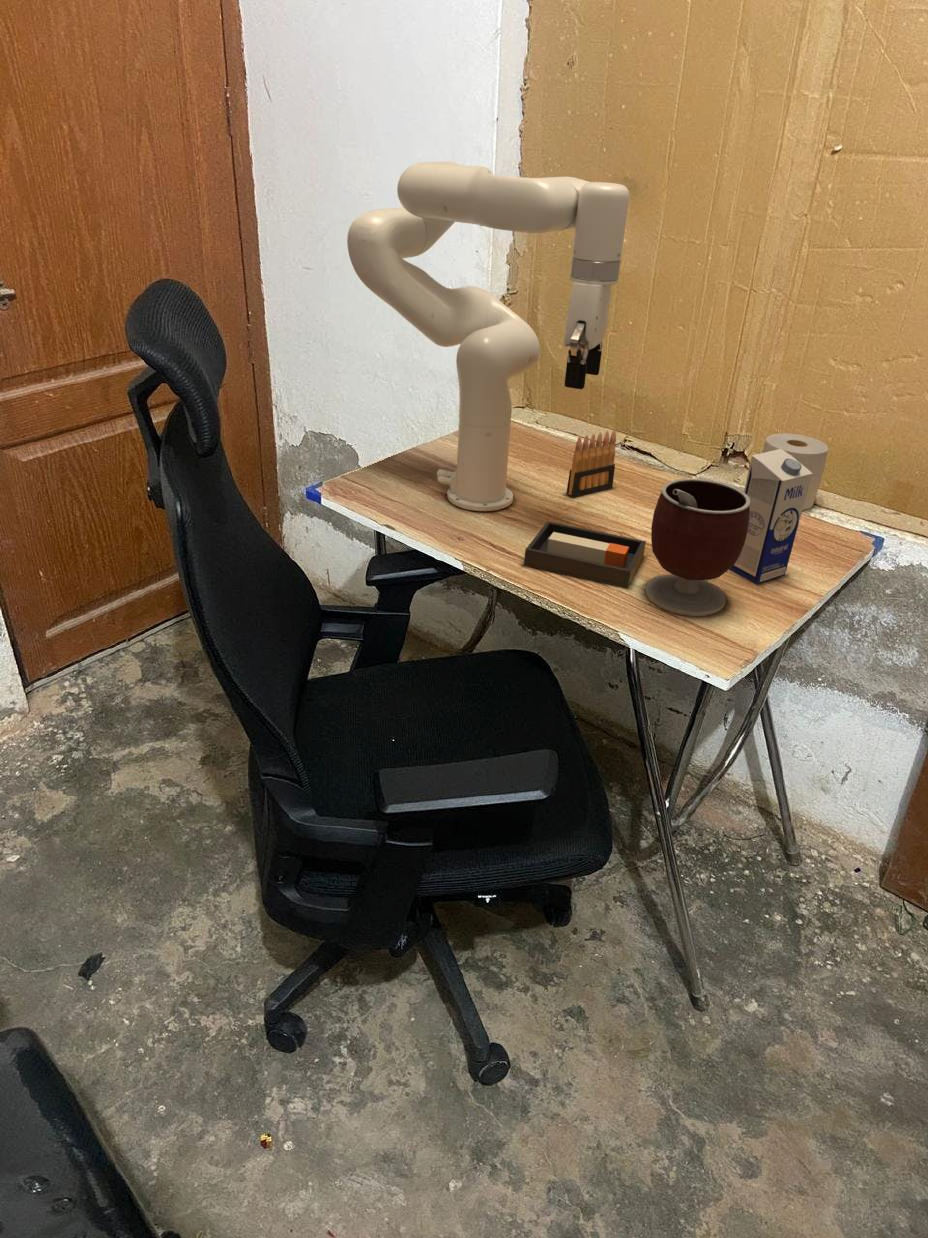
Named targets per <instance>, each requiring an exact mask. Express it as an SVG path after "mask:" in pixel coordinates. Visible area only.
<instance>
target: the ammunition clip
mask: <svg viewBox="0 0 928 1238" xmlns="http://www.w3.org/2000/svg"><path fill="white" fill-rule="evenodd" d="M616 442H617V432H616V429H613V430H612V431H611V434H610V433H609V431H608V430H607V431H606V432H605V434H604V436H603V434H602V432H601V431H600V432H599V433H598V435H597V438H596V435H595V433H592V435H591V436H590V440H589V436H588V434H586V435H585V436H584V438H583V440H582V437H581V435H580V436H578V438H577V440H576V444H575V447H574V454H573V457H572V461H571V462H572V463H571V469H570V470H569V473H568V480H567V487H566V496H568V497H570V498H572V499H574V498H579V497H582V496H586V495H590V494H594V493H599V492H603V491H607V490H611V489H613V487H614V478H615V477H614V476H615V468H616V464H614V463H615V458H616V457H615V456H616Z"/></svg>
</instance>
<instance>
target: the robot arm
mask: <svg viewBox="0 0 928 1238" xmlns="http://www.w3.org/2000/svg"><path fill="white" fill-rule="evenodd" d="M396 189H397V198H398V200H399V202H400V204H401V207H391V208H390V207H389V208H379V209H374V210H373V209H372V210H369V211H367V212H364V213H362V214H360V215H359V216H358V217H357V218H355V219H354V220H353V222H352V223H350V226H349V229H348V232H347V239H346V243H347V244H346V245H347V252H348V256H349V260H350V263H351V265H352V267H353V270H354V272H355V274H356V275H357V277H358V279H359V280H360V281H361V283H363V285H364V286H365V287H366V288H367V289H368V290H369V291H371V293H373V294H374V295H376V296H377V297H378V298H379V299H381V300H382V301H384V302H385V303H386V304H387V305H388V306H390V307H391V308H392V309H393V310H395V311H396V312H397V313H398V314H399V315H400V316H402V318H404V319H405V320H406V321H407V322H408V323H409V324H410V325H412V326H413V327H414V328H415V329H417V330H418V331H419V332H420V333H421V334H423V336H425V337H426V338H427V339H428V340H430V341H431V342H432V343H433V344H435V345H436V346H438V347H443V348H450V347H454V346H458V345H459V346H458V349H457V353H456V360H455V361H456V372H457V380H458V391H459V402H458V403H459V405H458V407H459V408H458V433H457V454H456V470H453V471H450V470H446V469H441V468H439V469H438V470H437V472H436V479H437V483H438V484H441V485H448V486H449V488H448V489H447V493H446V497H447V498H446V499H447V500H448V501H449V502H450V503H451V504H452V505H453V506H456V507H458V508H461V509H464V510H468V511H475V512H495V511H499V510H504V509H506V508H507V507H509V506H511V504H512V503H513V502H514V494H513V492H512V490H510V488H508V487H507V476H508V465H509V452H510V441H511V440H510V438H511V425H512V398H511V393H510V389H509V385H508V384H509V380H511V379H512V378H516V377H518V376H521V375H523V374H526V373H527V372H529V371H531V369H532V368H533V367H534V366H535V365H536V364H537V363H538V360H539V358H540V354H541V353H540V352H541V346H540V341H539V338H538V336H537V334H536V332H535V331H534V329H533V328H532V326H530V325H529V324H528V323H527V322H526V321H525V320H524V319H523V318H522V317H520V316H519V315H517V313H515V312H514V311H513V310H512V309H510V308H509V307H508V306H507V305H506V304H504V303H503V302H502V301H500V300H499V299H498V298H497V297H496V296H494V295H493V294H492V293H490V292H489V291H487V290H486V289H483V288H482V287H481V288H480V287H479V286H478V287H477V286H471V285H468V286H467V285H466V286H460V287H455V288H449V287H446V286H444V285H443V284H441V283H440V282H438V281H437V280H436V279H434V278H433V277H432V276H431V275H430V274H429V273H427V271H425V270H423V269H422V268H420V267H419V266H417V265H415V264H413V263H411V262H409V261H408V260H405V259H408V258H414V257H418V256H420V255H423V254H424V253H426V252H427V251H429V250H430V249H431V248H432V247H433V246H434V245H435V244H436V243H437V242H438V240H440V239H441V237H443V236H444V234H446V232H447V231H448V230H449V229H450V228H451V227H452V226H453V225H454V224H455V223H463V224H470V225H478V226H479V227H485V228H489V229H494V230H500V231H509V232H517V233H526V234H545V233H550V232H556V231H557V232H559V231H565V230H574V237H573V247H572V257H571V265H570V273H569V274H570V275H569V280H570V281H571V282H573V284H572V288H571V291H570V295H569V301H568V308H567V314H566V319H565V320H566V321H565V327H564V335H563V345H564V347H565V348H568V347H569V349H568V352H567V353H568V355H567V359H566V365H565V366H566V367H565V375H564V387H565V388H569V389H575V390H583V389H584V388H585V384H586V379H587V378H586V377H587V375H592V376H598V375H599V374H600V368H601V361H602V352H603V350H602V349H603V341H604V339H605V338H606V334H607V330H608V323H609V315H610V314H609V313H610V308H611V307H610V305H611V295H612V286H613V285H617V284H619V278H620V269H621V263H622V256H623V247H624V241H625V240H624V239H625V232H626V225H627V217H628V210H629V201H630V191H629V189H628V187H626V185H624V184H621V183H617V182H616V183H615V182H606V181H605V182H604V181H588V180H585V179H581V178H578V177H574V176H547V177H546V176H545V177H520V176H509V175H500V174H494V173H493V171H492V170H490V168H488V167H486V166H478V165H462V164H458V163H456V162H452V161H422V162H417V163H415V164H412V165H409V166H408V167H407V168H405V170H404V171H403V172H402V174H401V175H400V177H399V179H398V183H397V187H396Z"/></svg>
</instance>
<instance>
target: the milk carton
mask: <svg viewBox="0 0 928 1238" xmlns="http://www.w3.org/2000/svg"><path fill="white" fill-rule="evenodd" d="M812 474H813V473H812V472H810V471H809V470H808V469H807V468H806V467H804V466H803V465H802V464H801V463H800V462H798V461H797V460H796V459H795V458H794V457H792V456H791V455H790V454H788V453H786V452H785V451H783V450H782V449H778V450H774V451H769V452H765V453H762V452H760V453H756V454H751V459H750V463H749V468H748V472H747V476H746V480H745V485H744V490H743V492H744V493H745V494H747V496H748V497H749V498H750V505H749V506H750V514H749V526H748V531H747V536H746V540H745V544H744V546H743V548H742V551H741V553H740V556H739V557H738V559H737V561H736V563H735V564H734V566H733V567H731V568H730V569H729V570H730V571H731V572H734V573H736V574H738V575H739V576H741V577H743V578H744V579H746V580H748V581H750V582H752V583H754V584H756V585H759V584H762V583H766V582H769V581H772V580H776V579H778V578H781V577H784V576H786V573H787V568H788V565H789V562H790V558H791V554H792V549H793V546H794V542H795V539H796V537H797V536H796V535H797V531H798V528H799V523H800V521H801V516H802V513H803V511H804V510H803V506H804V502H805V498H806V495H807V491H808V487H809V483H810V480H811V476H812Z"/></svg>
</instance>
